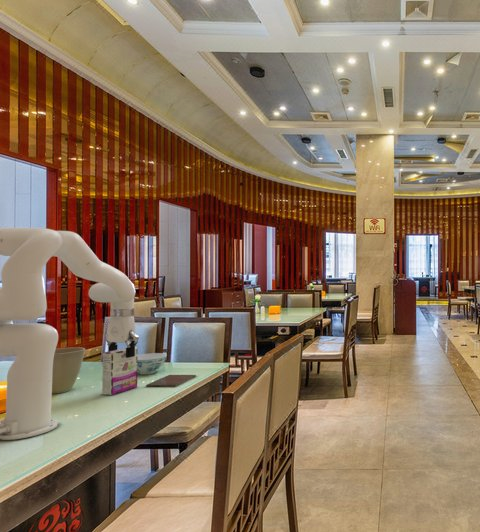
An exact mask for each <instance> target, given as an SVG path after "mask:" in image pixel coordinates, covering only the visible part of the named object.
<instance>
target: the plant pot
mask: <svg viewBox="0 0 480 532" xmlns="http://www.w3.org/2000/svg"><path fill="white" fill-rule="evenodd" d="M85 352H86V348H85V347H61V348H56V350H55V353H54V359H53V371H52V395H53V394H62V393H66V392H70V391H72V389H73V387H74V385H75V384H76V382H77V381H76V380H77V378H78V376H79V374H80V371H81V368H82V364H83V361H84V356H85Z"/></svg>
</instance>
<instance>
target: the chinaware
mask: <svg viewBox="0 0 480 532" xmlns="http://www.w3.org/2000/svg"><path fill="white" fill-rule="evenodd" d="M167 356H168V355H167V353H164V352H152V353H150V352H149V353H141V354H137V373H138V374H139V375H142V376H143V375H151V374H155V373H156V372H157V370H158V369H160V368H161V367H162V366H164V363H165V362H166V359H167Z"/></svg>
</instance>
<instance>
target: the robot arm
mask: <svg viewBox="0 0 480 532" xmlns="http://www.w3.org/2000/svg"><path fill="white" fill-rule="evenodd" d="M0 256H3V257H8V259H6V260H5V262H4V264H3V265H2V268H1V272H0V277H1V287H0V357H16V358H15V359H14V361H13V363H12V364H11V365H10V367H9V368H8V370H7V374H6V375H7V376H6V398H5V399H6V400H5V419H1V420H0V440H3V441H13V440H20V439H26V438H31V437H36V436H39V435H42V434H45V433H48V432H51V431H52V430H54V429H56V428H57V427H58V424H59V423H58V420H56V419H53V418H52V400H53V399H52V397H53V396H52V395H53V394H52V371H53V359H54V353H55V350H56V349H57V345H58V342H59V333H58V330H57V329H56V328H55V327H53V326H52V325H50V324H47V323H40V322H39V323H38V322H37V323H36V322H19V323H17V322H16V323H14V322H13V321H32V320H37V319H40V318H42V317H43V316H44V315H45V314H46V312H47V310H48V305H47V302H48V301H47V295H46V287H45V279H44V270H45V267H46V265H47V263H48V261H49V260H50V259H51V258H52V257H57V258H58V259H59V260H60V261H61V262H62V263H63V264H64V265H65V266H66V267H67V268H68V270H69V271H70V272H71V273H72V274H73V275H74V276H76V277H78V278H81V279H84V280H88V281H92V282H95V284H93V285H91V287H90V288H89V289H88V297H89V298H90V300H91V301H93V302H97V303H110V310H109V311H110V315H109V318H108V323H107V326H106V327H107V328H106V333H105V334H104V336H105V341H106V343H107V344H106V345H107V352H108V351H113V350H118V344H124V343H125V345H126V347H125V348H126V358H129V357H134V356H135V347H137V344H138V342H139V339H140V336H139V335H138V334H137V333H136V323H135V322H136V321H135V296H136V289H135V284H134V283H133V282H132V281H131V280H130V278H129V277H128V276H127V275H126V274H125V273H124V272H122V271H121V270H119V269H117V268H116V267H114V266H112V265H110V264H108V263H106V262H104V261H101V260H100V259H99V257H98V256H97V255H96V253H94V252H93V249H91V248H90V246H88V244H87V243H86V242H85V240H84V239H83V238H82V237H81V236H80V235H79V233H76V232H75V231H70V230H55V229H51V228H46V227H0Z"/></svg>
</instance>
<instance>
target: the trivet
mask: <svg viewBox="0 0 480 532" xmlns="http://www.w3.org/2000/svg"><path fill="white" fill-rule="evenodd" d="M196 377H197V374H168V375H166V376H163V377H161V378H159V379H157V380H155V381H151V382H150V383H147V384H146V385H145V387H146V388H176V387H178V386H180V385H182V384H184V383H186V382H188V381H190V380H192V379H194V378H196Z"/></svg>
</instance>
